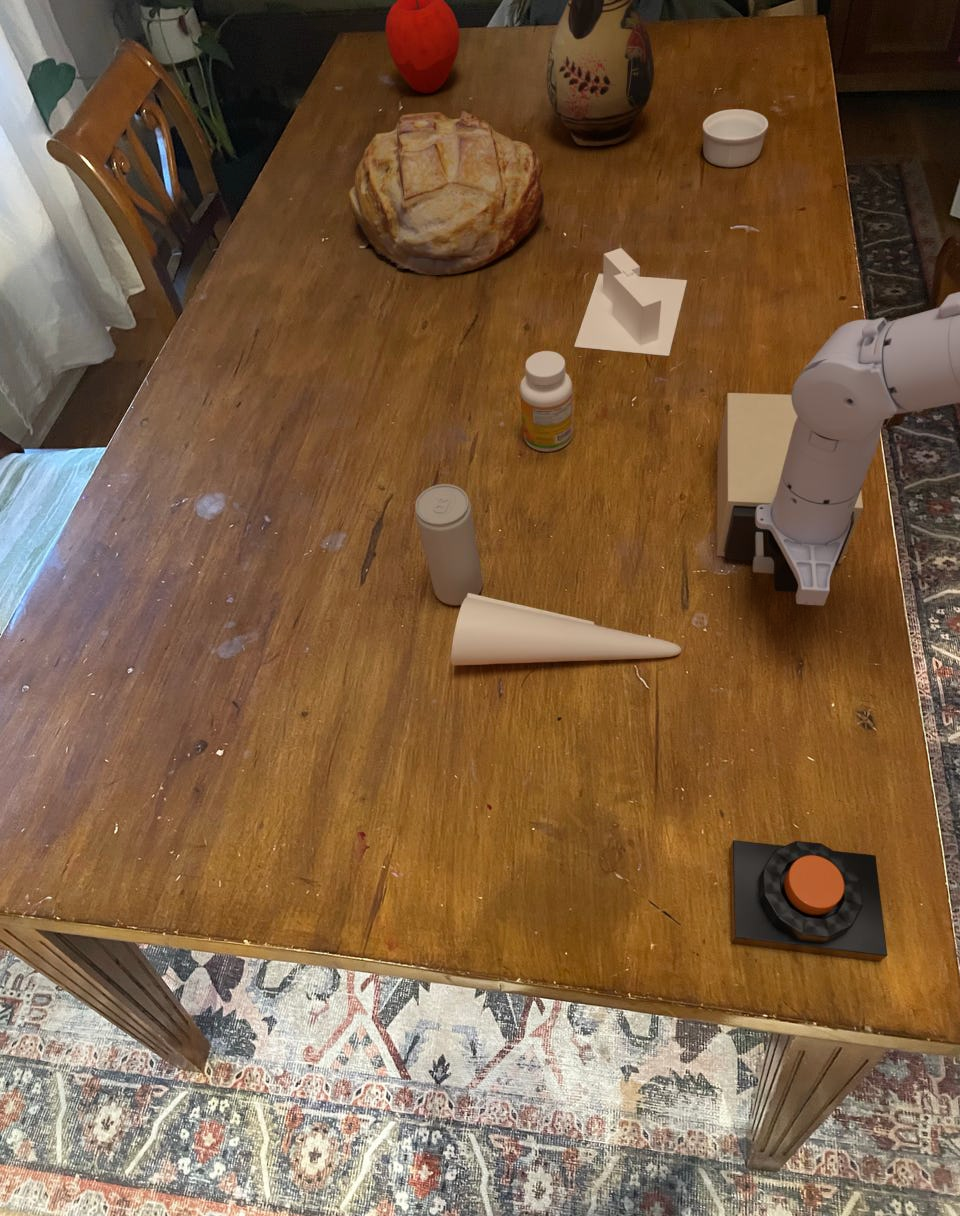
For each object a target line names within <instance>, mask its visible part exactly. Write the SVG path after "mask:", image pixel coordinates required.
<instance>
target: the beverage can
mask: <svg viewBox="0 0 960 1216" xmlns="http://www.w3.org/2000/svg"><path fill="white" fill-rule="evenodd" d="M414 505H415V507H414V508H415V509H414V513H415V515H414V516H415V520H416V524H417V525H416V526H417V527H418V532H419V536H420V539H421V543H422V547H423V551H424V554H425V555H424V556H425V559H426V563H427V566H428V570H429V576H430V579H431V584H432V588H433V591H434V594H435V596H436V598H437V599H438V600H439V601H440V602H442V603H444V604H446V605H448V606H449V605H450V606H461V605H462V603H463V601H464V599H465V598H466V597H467V594H468V593H471V594H475V595H479V594H480V593H481V592H482V590H483V586H484V579H483V573H482V567H481V560H480V553H479V548H478V542H477V535H476V528H475V522H474V517H473V516H474V515H473V510H472V504H471V500H470V499H469V496H468V494H467V492H465V490H463V489H462V488H461V487H459V486H457V485H454V484H452V483H451V484H450V483H439V484H435V485H432V486H429V487H428V488H426V489H424V490H423V491H422V492H420V494H419V495H418V497H417V499H416V501H415V504H414Z"/></svg>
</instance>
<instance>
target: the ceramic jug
mask: <svg viewBox="0 0 960 1216" xmlns="http://www.w3.org/2000/svg"><path fill="white" fill-rule="evenodd" d="M557 23H558V24H557V26H556V28H555V31H554V32H553V36H552V40H551V42H550V47H549V50H548V58H547V66H546V89H547V95H548V99H549V100H548V101H549V103H550V104H551V107H552V109H553V112H554V113H555V115H556V116H557V117H558V119H559V120H560V121H561V122H562V123H563V124H564V125H565V127H566V128H567V129H568V130H569V133H570V136H571V137H572V139H573V141H574V142H575V144H576V145H577V146H589V147H601V146H611V145H616V144H619V143H621V142H623V141H625V140H627V139H629V138H630V137H632V136H633V135H634V130H633V126H634V124H635V121H636V120H637V119H638V118H639V116H640V115H641V114H642V112H643V110H644V109H645V108H646V106H647V104H648V101H649V99H650V96H651V92H652V90H653V87H654V78H655V64H654V55H653V49H652V44H651V39H650V36H649V32H648V29H647V27H646V25H645V23H644V20H643V18H642V16H641V14H640V12H639V10H638V8H637V7H636V4H635V2H634V0H568V1H567V3H566V6H565V7H564V10H563V12H562V15H561V16H560V19H559V21H558V22H557Z"/></svg>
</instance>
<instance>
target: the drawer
mask: <svg viewBox="0 0 960 1216" xmlns="http://www.w3.org/2000/svg"><path fill="white" fill-rule="evenodd" d="M756 508H757V507H751V506H734V507H733V512H732V517H731V521H730V526H729V531H728V536H727V540H726V545H725V550H724V556H723V557H724V559H725V560H738V561H739V560H740V561H741V560H742V561H752V573H758V574H773V575H774V561H773V559H772V558H771V557H770V555H769V552H768V547H767V529H761V528H758V527H757V526H756V524H755V512H756ZM853 524H854V515H853V512H852V515H851V524H850V528H849V531H848V533H847V536H846V538H845V541H844V543H843V546H842V548H841V553H840V555H839V557H838V559H837V561H836V563H835V565H834V567H835V566H836V567H837V566H838V565H839V563H838V562H839V560H840V557H841V555H842V552H843V549H844V547H845V544H846V542H847V539H848V537H849V534H850V531H851V529H852V526H853Z"/></svg>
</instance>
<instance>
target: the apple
mask: <svg viewBox="0 0 960 1216" xmlns="http://www.w3.org/2000/svg"><path fill="white" fill-rule="evenodd" d="M385 19H386V21H385V31H384V34H385V37H386V41H387V46H388V50H389V55H390V57H391V59H392V61H393V63H394V65H395V67H396V69H397V71H398V72H399V74H400V75H401V77H402V78H403V79H404V80H405V82H406V83H407V84H408V85H409V87H411V89H412V90H414V91H415V92H418V93H422V94H431V93H435V92H436V91H438V90H439V89H440V88H441V87H443V85H444V84H445V83H446V80H447V79H448V77H449V75H450V73H451V70H452V68H453V66H454V63H455V61H456V59H457V55H458V52H459V49H460V38H461V37H460V36H461V35H460V28H459V25H458V21H457V19H456V16H455V14H454V12H453V10H452V8H451V7H450V6H449V5H448V3H446V1H445V0H397V1H396V2H394V3H393V5H392V6H391V7H390V8H389V11H388V14H387V17H386V18H385Z"/></svg>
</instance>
